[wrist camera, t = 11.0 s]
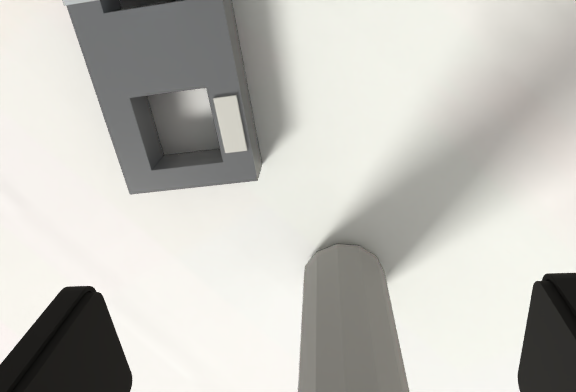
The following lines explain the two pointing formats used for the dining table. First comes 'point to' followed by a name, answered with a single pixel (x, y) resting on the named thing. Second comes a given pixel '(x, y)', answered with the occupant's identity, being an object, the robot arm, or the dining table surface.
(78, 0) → the plug
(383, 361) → the water bottle
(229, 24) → the panel
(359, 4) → the dining table surface
